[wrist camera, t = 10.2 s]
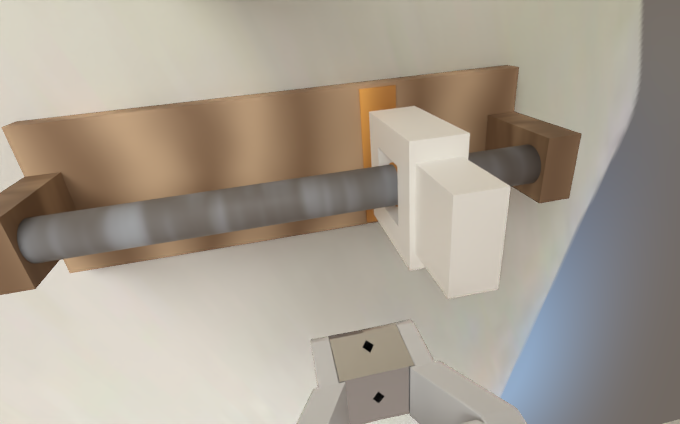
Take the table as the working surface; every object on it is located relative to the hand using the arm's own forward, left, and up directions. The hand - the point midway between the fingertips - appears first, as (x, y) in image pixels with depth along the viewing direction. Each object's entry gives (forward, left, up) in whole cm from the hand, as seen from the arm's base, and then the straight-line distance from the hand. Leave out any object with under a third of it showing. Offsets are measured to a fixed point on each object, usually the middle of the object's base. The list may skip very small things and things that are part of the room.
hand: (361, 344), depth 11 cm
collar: (0, +6, -16) cm, 17 cm away
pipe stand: (0, 0, -19) cm, 19 cm away
